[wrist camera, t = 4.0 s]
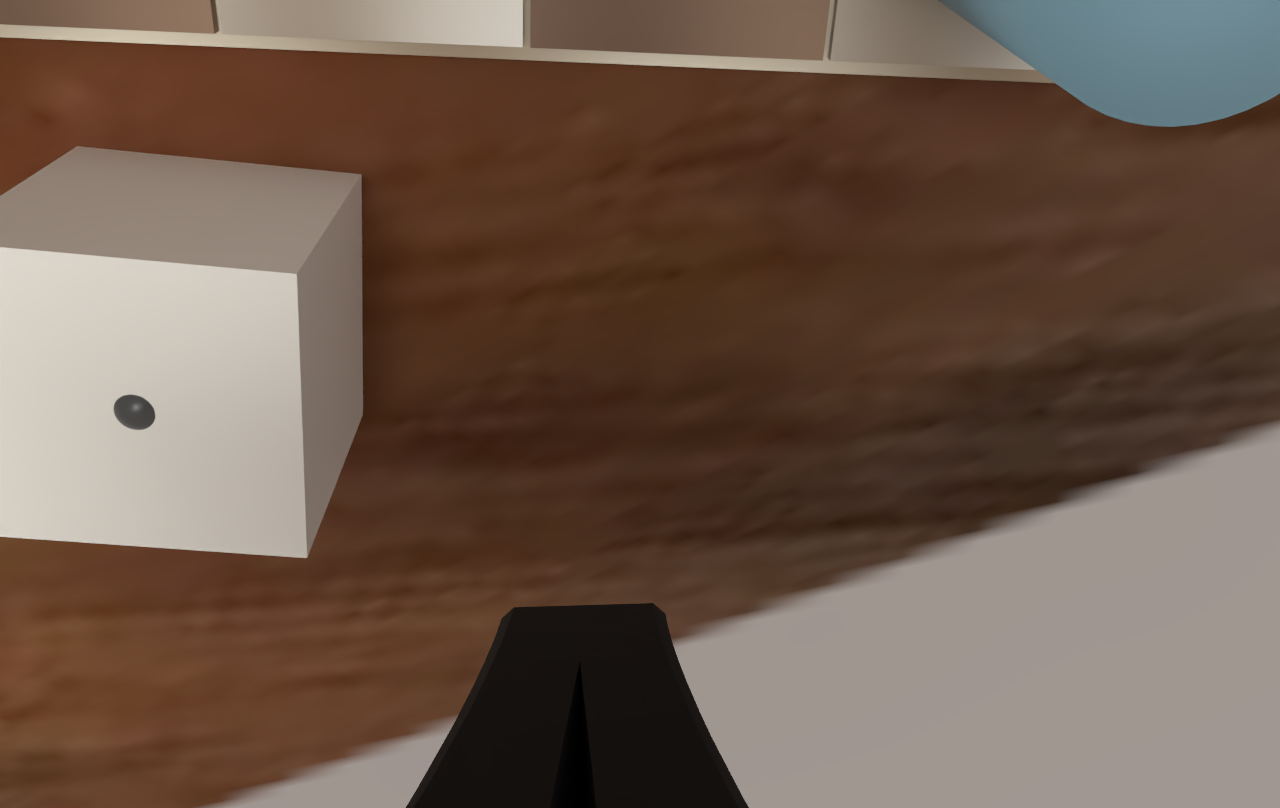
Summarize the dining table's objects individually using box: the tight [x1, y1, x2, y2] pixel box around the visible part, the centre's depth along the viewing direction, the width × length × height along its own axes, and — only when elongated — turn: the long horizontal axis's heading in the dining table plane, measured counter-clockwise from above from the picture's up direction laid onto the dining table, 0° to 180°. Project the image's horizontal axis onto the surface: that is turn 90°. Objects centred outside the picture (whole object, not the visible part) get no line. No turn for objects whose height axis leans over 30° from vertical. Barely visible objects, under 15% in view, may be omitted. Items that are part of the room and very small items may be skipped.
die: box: [0, 146, 363, 558], centre depth 15 cm, size 4×4×4 cm
